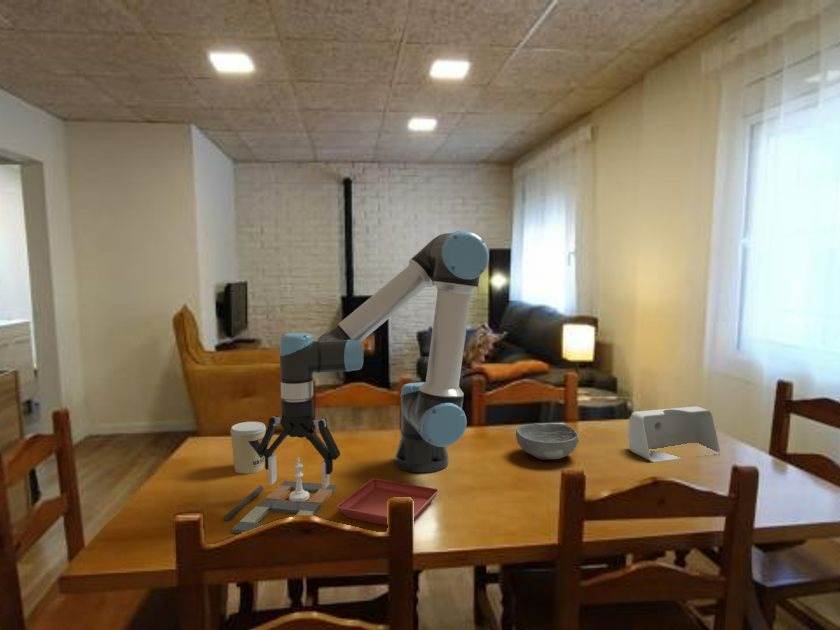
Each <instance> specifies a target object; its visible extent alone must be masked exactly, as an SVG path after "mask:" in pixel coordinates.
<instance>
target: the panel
mask: <svg viewBox="0 0 840 630" xmlns="http://www.w3.org/2000/svg"><path fill="white" fill-rule="evenodd" d="M301 482H302V488H303V490H304V491H307V492H312V493H314V494H313V495H312V497H311V498H309V499H308V501H291V500H289V499H288V500H287V499H284V498H285V497H286V495H288V494H290V492H292V491H295V490H296V483H297V481H292V480H291V481H290V480H283V482H282V483H280V484H279V485H278V486H276V488H274V490H272V491H271V492H270V493H269V494H268V495H267V496H265V498H264V499H263V500H262V501H261V502H259V503H258V504H257V505H256V506H255V507H253V508H252V509H251V510H250V511H249V512H248V513H247V514H246V515H245V516H244V517H243V518H242V519H240V520H239V521H238V522H237V524H236V525H234V526H233V527H232V528H231V534H240V533H242V532H245V531H249V530H252V529H254V528H257V527H259V526H261V525H264V524H265V523H264V524H263V523H259V522H260V521H261V520H262V519H263V518H264V517H265V516H267V514H268V513H270V512H274V513H287V514H295V516H296V515H314V516H315V515H316V514H317V512H319V510H320V509H321V507H323V505H324V504H325V503H326V501H328V499H329V498H330V497H331V496H332V494H333V493H334V492H335V490H337V484H332V483H331V484H330V483H329V485H328V486H327V488H326V489H322V483H318V482H315V483H314V482H307V481H306V482H305V481H301ZM295 516H294V517H295Z"/></svg>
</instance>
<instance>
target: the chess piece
mask: <svg viewBox="0 0 840 630" xmlns="http://www.w3.org/2000/svg"><path fill="white" fill-rule="evenodd" d="M296 462H297V463H296V464H295V465H294V469H295V471H296V473H295V474H294V476H293V477H295V478H296V482H297V483H296V490H293V491H291V493H289V495H288V500H289V501H301V502H306V501H307V500H310V496H311V495H310V491H304V490H303V488H302V482H303V481H302V477H303V476H304V473H302V471H303V466H304V465H303V464H302V463H301V460H300V457H299V456H298V457H297V458H296Z"/></svg>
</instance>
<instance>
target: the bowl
mask: <svg viewBox="0 0 840 630" xmlns="http://www.w3.org/2000/svg"><path fill="white" fill-rule="evenodd" d="M515 438H516V442H517V444H518V446H520V448H521V449H522V451H524V452H526V453H527V454H529V455H530V456H533V457H534V458H536V459H540V460H542V461H545V460H546V461H549V460H560V459H562V458H563V459H564V458H566V457H567V456H569V455H570V454H572V453H573V452H574V451H575V449H576V447H577V444H578V442H579V440H580V437H579V433H578V431H577V430H575V429H574V428H572V426H569V425H567V424H564V423H551V422H550V423H537V422H536V423H530V424H526V425H521V426H519V427H518V428H516V429H515Z"/></svg>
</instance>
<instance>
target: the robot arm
mask: <svg viewBox="0 0 840 630" xmlns="http://www.w3.org/2000/svg"><path fill="white" fill-rule="evenodd" d="M489 255H490V252H489V249H488V247H487V243H485V242H484V240H483V239H482V238H481V237H480V236H479V235H477V234H476V233H474V232H471V231H465V230H463V231H462V230H457V231H456V230H455V231H453V232H449V233H441V234H438V235H437V236H435V237H434V238H432V239H431V240H430V241H429V242H428V243H427V244H426V245H424V246H423V247H422V248H421V249H420V250H419V251H418V252H417V253H416V254H414V255H413V256H412V257H411V258H410V259H409V261H408V266H406V267H405V268H403V270H402V271H400V272H399V273H398V274H396V276H395V277H393V278H392V279H390V281H388V282H387V283H386V284H385V285H383V286H382V287H381V288H380V289H379V290H377V291H376V292H375V293H374V294H373V295H371V296H370V297H369V298H368V299H366V301H364V302H363V303H362V304H360V305H359V306H358V307H357V308H356V309H354V310H353V312H351V313H349V315H347V316H346V317H345V318H343V320H341V321H340V322H339V323H338V324H336V326H334V327H333V328H332V329H331V330H329V331H328V332H327V331H326V332H323V333H322V334H320V336H319V337H318V338H317V340H314V339H313V335H312V334H311V333H308V332H289V333H285V334H283V335H282V336H281V337H280V339H279V340H280V341H279V344H280V345H279V365H280V398H281V399H282V400H281V401H280V404H281V405H280V407H281V409H280V410H281V411H280V412H281V413H280V414H281V417H279V416H278V415H276V414H275V415H273V416H271V417H269V418H268V425H267V427H266V430H265V431H266V432H265V435H264V437H263V439H262V441H261V444H260V446H259V448H258V450H257V453H258V454H262V455H264V457H265V458H264V468H265V470H267V471H268V485H273V484H275V482H276V481H278V480H277V478H278V477H277V454H275V451H276V450H277V449H278V447H280V445H281V444H282V443H283V442H284V441H285V439H286V438H287V437H290V438H296V437H297V438H300V439H301V438H302V439H303V438H306V439H305V440H307V441H308V442H310V443H311V445H312V446H313V447H314V448H315V450H316V451H317V452H318V453H319V455H320V456H321V458H323V460H322V462H321V484H322V489H326V488H327V486H328V485H329V484H330V475H331V474H332V473H333V471H334V467H333V466H334V465H333V463H334V461H333V460H337V459H338V458H340V456H341V451H340V450H339V448H338V445H337V443H336V441H335V440H334V438H333V436H332V433H331V431H330V429H329V427H328V422H327V421H328V420H327V418H326V417H322V418H321V419H315V418H314V414H315V413H314V410H315V409H314V398H313V396H314V373H316V374H319V373H333V372H334V373H336V372H337V373H338V372H348V373H350V372H352V371H359V370H361V369H362V368H363V366H364V348H363V347H364V346H363V344H362V342H363V341H365V339H366V338H367V337H369V336H370V335H371V334H372V333H373V332H374V331H376V330H377V329H378V328H379V327H380V326H382V325H383V324H384V323H385V322H386V321H388V320H389V319H390V318H392V316H394V315H395V313H398V311H399V310H401V309H402V308H403V307H404V306H405V305H406V304H408V303H409V302H411V300H412V299H414V298H415V297H416V296H417V295H419V294H420V293H421V292H423V290H425V289H426V288H433V287H434V286H435V288H436V290H437V292H436V293H437V294H436V301H435V309H434V315H433V323H432V331H431V339H430V347H429V355H428V361H427V369H426V370H427V371H426V377H425V381H424V382H423V381H421V382H411V383H406V384H403V385H402V386H401V392H400V403H401V405H400V411H401V413H400V417H401V421H400V424H401V425H400V427H401V428H400V429H401V430H400V431H401V432H400V433H401V437H400V440H399V442H398V446H397V448H396V452H395V456H394V457H395V458H394V461H395V463H394V464H395V466H396V467H397V468H399V469H401V470H403V471H407V472H412V473H431V472H433V473H434V472H438V471H441V470H444V469H445V468H447V467H448V466H449V463H450V462H449V458H450V457H449V452H448V450H447V447H448V446H452V445H453V444H455V443H457V441H459V440H460V439H461V438H462V437H463V435H464V433H465V431H466V430H467V416H466V414H465V411H464V410H463V403H464V395H465V393H464V392H463V391H462V389H461V387H460V380H461V379H460V378H461V374H462V373H461V371H462V363H463V358H464V357H463V356H464V352H465V351H464V350H465V343H466V335H467V327H468V321H469V320H468V319H469V314H470V306H471V304H470V303H471V298H472V297H471V296H472V294H473V293H474V292H475V291H477V289H478V288H479V284H480V277H481V275H482V274H483V273H484V272H485V270H487V267H488V264H489V262H490V261H489V260H490V259H489V258H490V256H489ZM279 425H280V426H281V427H282V428H283V430H282V431H281V433H279V435H278V437H277V438H276V439H275V440H274V441H273V443H272V444H271V445H270V446H269V444H270V443H271V441H272V440H271V439H272V437H273V436H274V434H275V431H276V429H277V427H278V426H279ZM315 426H316V429H317V430H319V433H320V436H321V438H322V439H321V438H320V437H319V435H318V434H317V431H316V430H315V429H314V427H315ZM268 446H269V448H268Z"/></svg>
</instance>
